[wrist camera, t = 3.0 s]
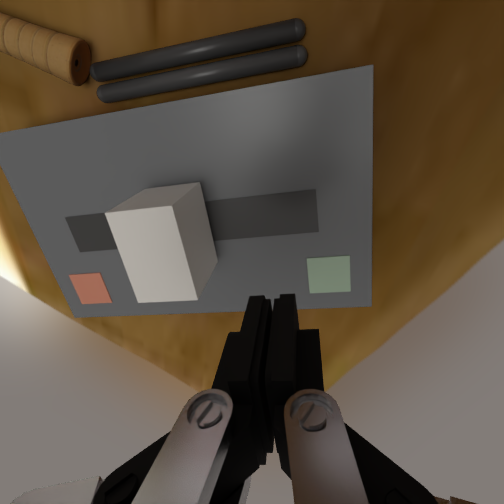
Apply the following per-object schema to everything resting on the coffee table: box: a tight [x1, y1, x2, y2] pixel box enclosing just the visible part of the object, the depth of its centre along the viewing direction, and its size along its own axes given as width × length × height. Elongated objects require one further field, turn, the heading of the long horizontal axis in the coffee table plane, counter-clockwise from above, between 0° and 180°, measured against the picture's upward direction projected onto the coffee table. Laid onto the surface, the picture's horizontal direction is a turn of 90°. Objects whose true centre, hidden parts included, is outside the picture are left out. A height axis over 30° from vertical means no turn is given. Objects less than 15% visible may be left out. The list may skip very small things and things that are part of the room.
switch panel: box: [0, 18, 373, 318], centre depth 24 cm, size 26×19×4 cm
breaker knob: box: [105, 182, 218, 303], centre depth 20 cm, size 4×6×5 cm, turn 9°
